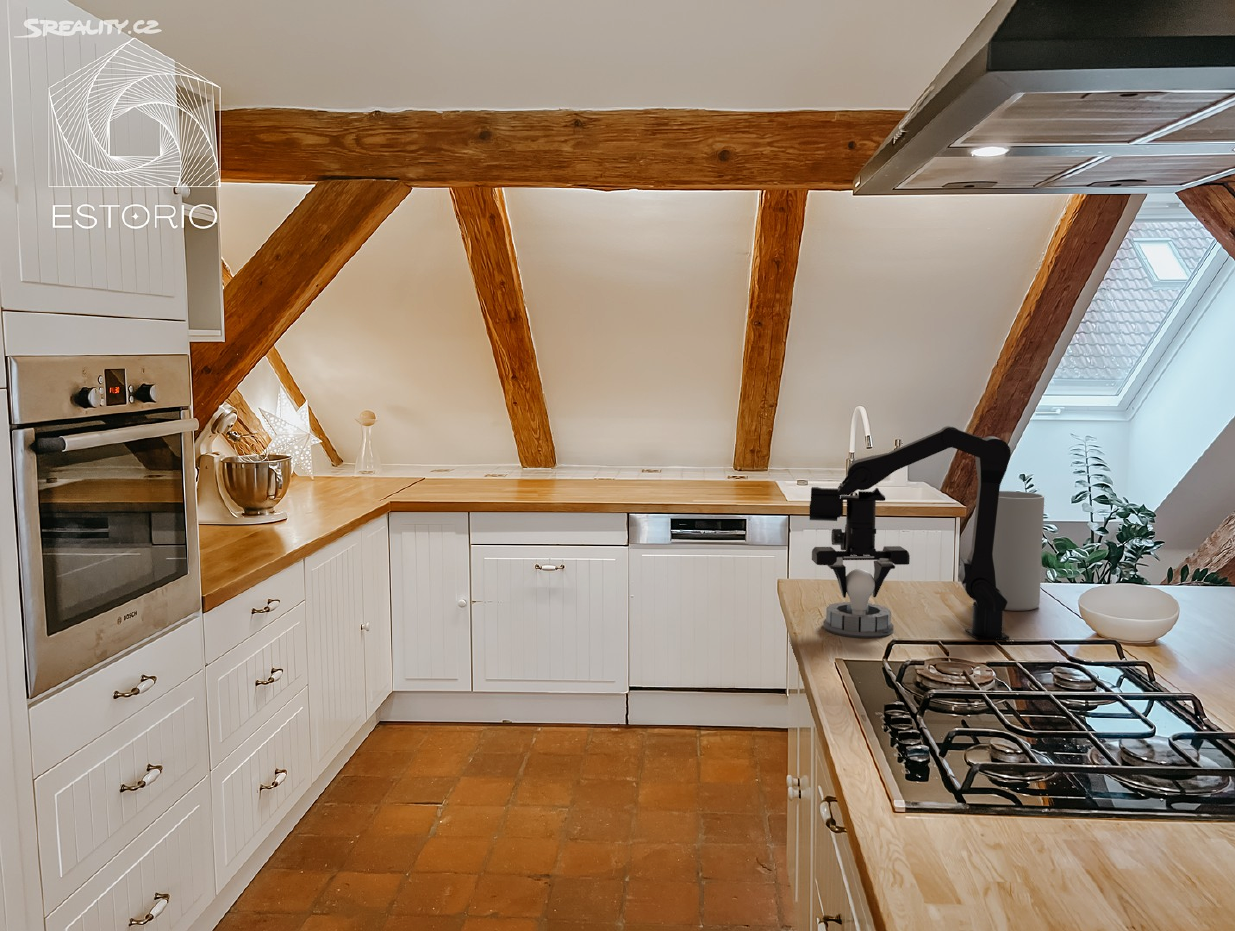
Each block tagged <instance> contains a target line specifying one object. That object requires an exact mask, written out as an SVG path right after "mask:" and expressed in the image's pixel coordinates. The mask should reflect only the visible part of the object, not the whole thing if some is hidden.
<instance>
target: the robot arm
mask: <svg viewBox="0 0 1235 931" xmlns="http://www.w3.org/2000/svg"><path fill="white" fill-rule="evenodd" d="M949 448H952V449H956V450H957V451H961V452H963V453H966V454H969V455H970V456H973V457H974V460H975V468H976V475H977V480H978V481H977V482H978V483H977V492H976V493H977V494H976V499H975V500H976V501H975V511H974V512H975V513H974V520H973V529H972V530H973V532H972V540H971V547H970V548H971V549H970V552H969V554H968V557H967V558H964V557H960V559H959V560H960V562H959V563H960V571H959V573H958V574H957V577H958V579H959V581H960V582H961V584H962V587H963V589H964V591H965V592H966V594H967V596H969V598H970V599H972V600H973V603H972V620H971V625H972V626H971V628H965V629H964V631H965V632H966V633H967V634H968V635H970V636H972V637H973V638H974V639H976V640H978V639H980V640H979V641H981V640H983V641H984V640H985V641H987V640H989V641H990V640H991V641H992V640H995V641H996V640H1010V639H1011V638H1010V636H1009V635H1007V634H1006V633H1004V632H1003V628H1004V627H1003V626H1004V625H1003V624H1004V611H1005V610H1004V609H1005V607H1006V605H1007V600H1006V599H1005V597H1004V596H1003V594H1002V593H1001V592H1000V590H999V589H998V588H997V587H996V579H995V569H994V562H993V545H994V536H995V526H996V517H997V508H998V499H999V491H1001V490H1000V489H1001V488H1000V487H1001V484H1002V481H1003V480H1004V477H1005V475H1006V472H1007V470H1008V466H1009V462H1010V459H1011V455H1012V452H1011V451H1012V450H1011V447H1010V445H1009V444H1008V443H1007V442H1006V441H1004V440H1002V439H1000V438H999V437H996V436H992V435H991V436H985V437H981V436H977V435H975V434H972V433H969V432H966V431H963V430H960V429H958V428H956V427H954V426H953V425H946V426H944V427H942V428H941V429H940V430H937V431H935V432H933V433H931V434H929V435H926V436H923V437H921V438H919V439H917V440H914V441H912V442H910V443H908V444H905V445H903V446H900V447H898V448H896V449H894V450H891V451H889V452H886V453H880V454H876V455H871V456H870V455H869V456H867V457H862V458H857V459H856V460H853V461H852V462H851V463H850V464H849V466H848V467H847V470H846V477H845V478H844V479H843V480H842V481H841V483H839V485H838V487H837V488H834V487H833V488H829V487H828V488H826V487H820V486H819V487H818V486H812V487H811V488H810V502H809V521H824V522H838V518H839V519H840V518H841V517H843V516H844V501H846V514H845V515H846V519H845V520H846V522H845V527H844V532H843V530H842V529H841V528H833V529H831V539H830V540H831V545H832V546H840V550H836V549H835V548H833V547H832V546H814V548H812V550H811V560H812V561H813V562H814V564H815V565H817V566H827V567H828V568H829V570H833V573H834V574H835V577H836V579H837V583H838V586H839V589H840V593H841V595H842V598H844V599H845V598H847V592H846V576H847V570H846V568H847V567H846V566H845V565H844V564H843V563H844V561H873V568H874V570H873V578H874V581H875V588H874V591H873V593H872V597H873V598H877V596H878V593H879V592H880V589H881V588H882V585H883V583H884V581H885V579H886V578H887V576H888V575H889V573H890V571H891V570H894V569H896V565H897V566H898V565H900V566H901V565H903V566H905V565H910V563H911V562H910V561H911V560H910V559H911V558H910V556H911V555H910V553H909V551H908V550H906V549H905V548H904V547H902V546H899V545H894V546H892V545H890V546H888V545H887V546H886V545H885V546H883V548H882V550H877V548H875V547H876V534H877V528H876V505H877V504H876V503H877V501H879V502H885V501H886V496H885V495H884V494H883V493H882V492H881V490H879V487H876V488H874V489H873V490H872V491H868V490H869V489H871V488H872V487H874V486H876V485H877V484H879V483H881V482H882V481H883V480H885V479H886V478H887V477H889V476H890V475H891V474H893V473H894V472H896V471H898V470H901V469H903V468H905V467H908V466H910V465H912V464H914V463H916V462H919V461H922V460H924V459H926V458H928V457H931V456H933V455H936V454H938V453H941V452H942V451H944V450H947V449H949ZM856 491H858V494H857V495H852V494H853V493H855V492H856Z"/></svg>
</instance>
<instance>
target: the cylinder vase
mask: <svg viewBox="0 0 1235 931" xmlns="http://www.w3.org/2000/svg"><path fill="white" fill-rule="evenodd" d="M1044 510H1045V495H1043V494H1040V493H1036V492H1028V491H1017V490H1015V491H1012V490H999V499H998V508H997V517H996V526H995V536H994V545H993V562H994V569H995V579H996V587H997V588H998V589H999V590H1000V592H1001V593H1002V594H1003V596H1004V597H1005V599H1006V600H1007V605H1006V607H1005V609H1004V611H1013V612H1017V611H1018V612H1019V611H1020V612H1024V611H1033V610H1035V609H1037V608H1038V607H1039V606H1040V603H1041V602H1040V599H1041V583H1042V582H1041V579H1042V576H1041V575H1042V558H1043V557H1042V554H1043V534H1044V514H1045V513H1044Z"/></svg>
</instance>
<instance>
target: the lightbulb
mask: <svg viewBox="0 0 1235 931" xmlns="http://www.w3.org/2000/svg"><path fill="white" fill-rule="evenodd" d="M874 588H875V581H874V575H872V574H871V572H869V571H867V570H865V569H861V568H856V569H854V570H851V571H849V572H848V573H846V595H847V596H848V598H849V600H850V601H849V602H851V609H852V614H855V615H865V612H866V609H867V604H868V603H869V600H870V598H871V596H872V595H873V591H874Z"/></svg>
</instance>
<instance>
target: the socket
mask: <svg viewBox="0 0 1235 931" xmlns="http://www.w3.org/2000/svg"><path fill="white" fill-rule="evenodd" d="M825 610H826V613H825V614H826V615H825V619H824V620H823V623H822V625H823V626H822V627H823V630H824V631H826V632H827V633H830V634H833V635H837V636H840V637H846V638H853V639H854V638H855V639H877V638H879V639H880V638H885V637H888V636H891V635H892V634H893V633H894V629H895V628H894V627H895V626H894V623H892V622H891V621H892V611H891V609H889V608H888V607H886V606H882V605H880V604H876V603H872V602H871V603H869V602H868V604H867V609H866V612H865V615H855V614H852V609H851V602H850V601H843V602H837V603H832V604H829V605H828V606H827V607H826V609H825Z"/></svg>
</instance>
